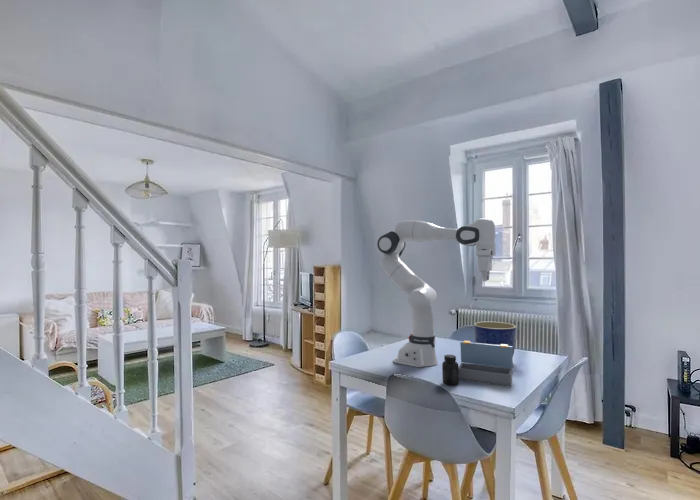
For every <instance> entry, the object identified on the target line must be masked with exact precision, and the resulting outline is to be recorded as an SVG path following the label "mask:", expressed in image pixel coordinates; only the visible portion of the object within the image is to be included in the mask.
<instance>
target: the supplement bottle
mask: <svg viewBox="0 0 700 500" xmlns="http://www.w3.org/2000/svg"><path fill="white" fill-rule="evenodd" d="M441 365H442V366H441V367H442V372H441V373H442V376H441V377H442V384H443V385H445V386H449V387H451V386H452V387H455V386H458V385H459V383H460V380H459V372H458V367H459V363H458V362H457V358H456V355H455V354H445V355H444V361H443V362H442V364H441Z"/></svg>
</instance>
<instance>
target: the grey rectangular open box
mask: <svg viewBox="0 0 700 500" xmlns="http://www.w3.org/2000/svg"><path fill="white" fill-rule="evenodd" d="M458 372H459V381H464V382H465V381H466V382H470V383H471V382H472V383H480V384H487V385H493V386H494V385H495V386H500V385H501V386H502V387H507V386H509V387H508V388H511V387H512V383H513V368H506V367H497V366H488V365H480V364H471V363H463V362H461V363H460V365H458Z"/></svg>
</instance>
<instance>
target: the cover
mask: <svg viewBox="0 0 700 500" xmlns="http://www.w3.org/2000/svg"><path fill="white" fill-rule="evenodd" d="M459 343H460V344H459V345H460V362H461V363H468V364H476V365H485V366H493V367H502V368H510V369H513V368H514V367H513V366H514V365H513V364H514V362H513V361H514V360H513V358H514V355H512V346H508V344H501V345H493V344H482V343H475V342H472V341H471V340H463V341H460V342H459Z"/></svg>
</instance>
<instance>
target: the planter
mask: <svg viewBox="0 0 700 500" xmlns="http://www.w3.org/2000/svg"><path fill="white" fill-rule="evenodd" d="M473 329H474V331H473V332H474V343H482V344H493V345H501V344H508V346H512V355H513V356H514V355H515V348H516V334H517V332H516V331H517V325H516V324H513V323H509V322H503V321H502V322H501V321H478V322H474V324H473Z"/></svg>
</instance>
